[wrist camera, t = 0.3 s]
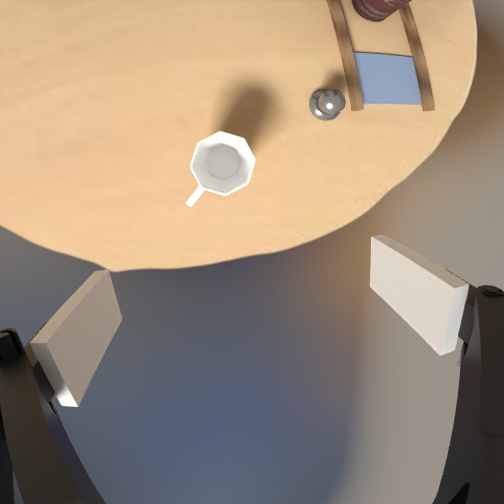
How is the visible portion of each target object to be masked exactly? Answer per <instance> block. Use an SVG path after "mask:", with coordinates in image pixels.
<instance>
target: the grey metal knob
mask: <svg viewBox="0 0 504 504" xmlns="http://www.w3.org/2000/svg"><path fill="white" fill-rule="evenodd" d="M345 104H346V101H345V97H344V95H343V94H342V93H341V92H339V91H338V90H319V91H317V92H315V93H314V94H313V95H312V96H311V98H310V101H309V107H310V110H311V112H312V113H313V115H314V116H315V117H317V118H318V119H320V120H325V121H327V120H332V119H334V118H336V117H337V116H338V115H339V113H340V111H341V110H342V109H343V108H344V107H345Z"/></svg>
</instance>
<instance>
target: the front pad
mask: <svg viewBox="0 0 504 504" xmlns="http://www.w3.org/2000/svg"><path fill="white" fill-rule="evenodd" d="M353 55H354V59H355V64H356V69H357V73H358V78H359V83H360V89H361V94H362V100H363V104H415V105H422V103H421V98H420V92H419V87H418V82H417V77H416V72H415V68H414V63H413V59H412V57H404V56H394V55H384V54H371V53H353Z"/></svg>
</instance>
